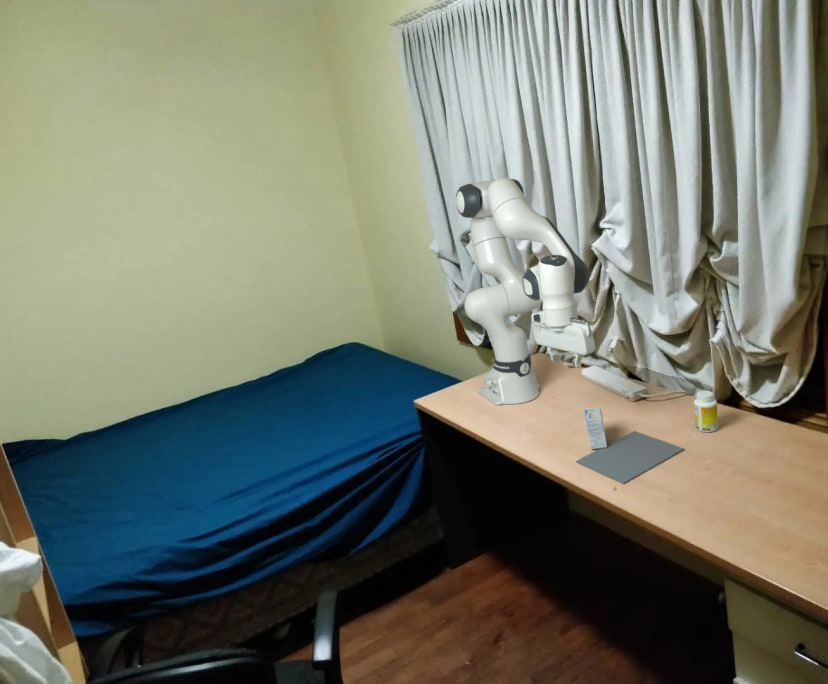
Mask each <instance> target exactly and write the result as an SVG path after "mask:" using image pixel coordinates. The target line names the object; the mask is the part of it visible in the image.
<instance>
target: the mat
mask: <svg viewBox="0 0 828 684" xmlns="http://www.w3.org/2000/svg"><path fill="white" fill-rule="evenodd" d="M683 451H685V448H684V447H681V446H678V445H676V444H673V443H669V442H666V441H665V440H664V441H663V440H661V439H658V438H655V437H653V436H650V435H647V434H645V433H642V432H639V431H636V430H633V431H632V432H629V433H627V434H626V435H623V436H622V437H620V438H618V439H616V440H614V441H612V442H610V443H607V448H599V449H595V451H593V452H590V453H589V454H587V455H585V456H583V457H581V458H579V459H577V460H576V461H575V463H576V464H578V465H581V466H583V467H585V468H588V469H590V470H591V471H593V472H597V473H598V474H601V475H603V476H605V477H607V478H609V479H611V480H614V481H616V482H618V483H621V484H622V485H625V484H628V483H629V482H630V481H632V480H635V478H637V477H639V476H641V475H643V474H644V473H646V472H648V471H650V470H652V469H654V468H655V467H657V466H659V465H660V464H662V463H664V462H665V461H668V460H669V459H671V458H673V457H674V456H676V455H678V454H680V453H682V452H683Z"/></svg>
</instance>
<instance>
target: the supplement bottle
mask: <svg viewBox="0 0 828 684" xmlns="http://www.w3.org/2000/svg"><path fill="white" fill-rule="evenodd" d="M693 408H694V421H695V422H694V423H695V429H696V430H697V431H699V432H701V433H713V432H715V431H717V430H718V429H719V418H718V415H719V414H718V402H717V399H716V398H715V397H714V392H712V391H711V390H710V391H709V390H700V391H697V393H696V398H695V399H694V401H693Z"/></svg>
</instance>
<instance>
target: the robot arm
mask: <svg viewBox="0 0 828 684" xmlns="http://www.w3.org/2000/svg"><path fill="white" fill-rule="evenodd" d="M524 193H525V192H524V187H523V185H522V184H521V183H520V181H519V180H518V179H514V178H510V177H500V178H497V179H487V180H485V181H479V182H475V183H466V184H464V185H462V186H460V187H459V188H458V190H457V192H456V193H455V207H456V209H457V212H458V214H460V215H461V217H463V218H468V219H470V220H469V221H470V223H469V225H470V226H469V227H470V236H471V244H472V247H473V253H474V255H475V256H474V257H475V259H476V260H475V261H476V265H477V267H478V268H477V269H479V271H480V272H481V273H482V274H484V275H487V276H491V277H494V278H496V279H497V280H498V281H499V282H500V283H498V284H493V285H487V286H484V287H480V288H478V289H475V290H472V291H471V292H468V293H467V295H466V297H465V299H464V311H465V313H466V315H467V317H468V318H469V319H470V320H471V321H473V322H474V323H477V324H478V325H480V326H481V327H482V328H484V329H485V331H487V333H488V334H489V337H490V339H491V342H492V347H493V351H494V357H492V358H491V362H493V367H492V368H491V369H489V371H488V372H486V373H485V375H484V377H483V384H484V385H483V386H481V387H480V388H479V389H478V394H480V395H481V396H483V397H484V398H485V399H487V400H488V401H489V400H490V401H489V402H491V403H492V402H493V403H492V404H494V405H495V406H501V404H502V405H514V404H515V405H516V404H522V403H527V402H530V401H532V400H534V399H536V398H537V397H538V396H539V395H540V388H541V385H540V383H538V381H537V376H536V372H535V368H534V366H533V365H532V357H531V353H530V352H529V345H528V339H527V338H528V337H527V333H526V332H525V331H524V329H523V328H521V327H519V326H517V325H514V324H513V325H512V324H509V323H507V321H506V318H508V317H513V316H518V315H522V314H523V315H524V314H526V313H530V312H531V311H532V312H533V311H534V310H537V309H539V308H540V307H541V305H542V310H539V311H536V312H535V313H531V316H530V317H531V320H532V322H533V323H532V331H533V338H534V339H533V340H534V341H535V343H536V345H540V346H543V347H546V349H547V352H548V353H549V355H550V358H551V359H550V360H551V362H554V363H558V362H560V360H561V358H560V354H558V353H557V350H561V351H564V352H565V351H566V352H569V353H572V354H573V356H574V357H575V358H574V360H572V363H571V364H572V367H573V368H576V369H578V368H581V366H582V360H583V357H584V356H587V355H590V354H592V353H594V352H595V350H596V344H595V338H594V334H593V330H592V329H591V325H590V324H589V323H588V322H587V321H586V320H585V319H579V317H578V310H577V308H578V307H577V301H576V299H575V297H574V294H580V293H582V292H583V291H584V290H585V289H586V287H587V286H588V284H589V283H590V278H591V274H590V270H589V267H588V266H587V264H586V262H585V261H584V260H583V259H582V258H581V257H580V256H579V255H577V253H576V252H575V251H574V250H573V248H572V247H571V246H570V244H569V243H568V242H567V240H566V239H565V238H564V236H563V235H562V234H561V232H560V231H559V229H558V228H557V227H556V226H555V224H554V223H553V222H552V221H551V219H549V218H548V217H547V216H544V215H542V214H540V213H538V212H537V211H536V210H534V209H533V207H532V206H531V205H530V204H529V202H528V200H527V198H526V196H525V194H524ZM507 238H509V239H511V240H519V241H531V242H537V243H540V244H543V245H544V246H545V247H546V248H547V249H548V250H549V252H550V253H551V254H550V255H549V254H548V255H546V256H544V257H541V259H539V261H538V263H537V264H536V265H534V266H531V267H530V268H527V270H526V271H525V272H524V273H523V272H522V271H521V270H520V269H519V268H518V266H517V265H516V264H515V262H514V260H513V257H512V254H511V252H510V248H509V245H508V244H509V243H508V240H507ZM556 349H557V350H556Z"/></svg>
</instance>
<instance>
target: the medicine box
mask: <svg viewBox="0 0 828 684" xmlns="http://www.w3.org/2000/svg"><path fill="white" fill-rule="evenodd" d="M584 417H585V425H586V430H587V437H588V442H589V443H588V444H589V448H590V450H598V449H600V448H607V445H608V443H607V438H606V431H605V425H604V419H603V418H604V417H603V413H602V410H601V407H594V408H587V409H584Z"/></svg>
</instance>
